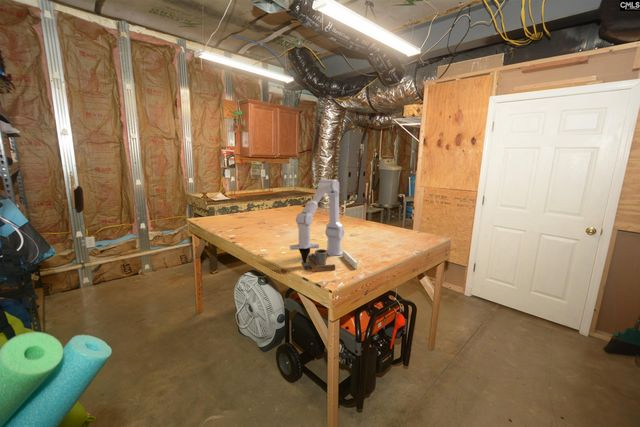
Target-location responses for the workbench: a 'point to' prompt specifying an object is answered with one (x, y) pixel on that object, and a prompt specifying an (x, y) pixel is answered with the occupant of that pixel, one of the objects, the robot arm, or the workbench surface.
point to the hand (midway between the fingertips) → (304, 262)
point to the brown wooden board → (323, 266)
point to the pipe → (319, 257)
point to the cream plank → (349, 259)
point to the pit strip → (307, 265)
